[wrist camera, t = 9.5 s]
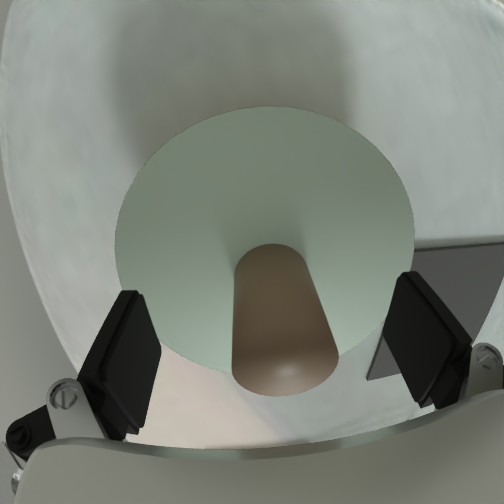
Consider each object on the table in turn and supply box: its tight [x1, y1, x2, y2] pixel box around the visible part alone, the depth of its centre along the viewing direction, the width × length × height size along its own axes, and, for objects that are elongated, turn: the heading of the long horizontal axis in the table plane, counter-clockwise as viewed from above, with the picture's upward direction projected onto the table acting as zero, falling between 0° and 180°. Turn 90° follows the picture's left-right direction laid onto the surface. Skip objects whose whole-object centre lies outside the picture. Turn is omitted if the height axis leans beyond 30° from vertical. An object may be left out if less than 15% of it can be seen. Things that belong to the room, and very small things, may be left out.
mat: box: [366, 242, 504, 381], centre depth 22 cm, size 15×15×1 cm
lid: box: [115, 106, 415, 396], centre depth 10 cm, size 14×14×6 cm
